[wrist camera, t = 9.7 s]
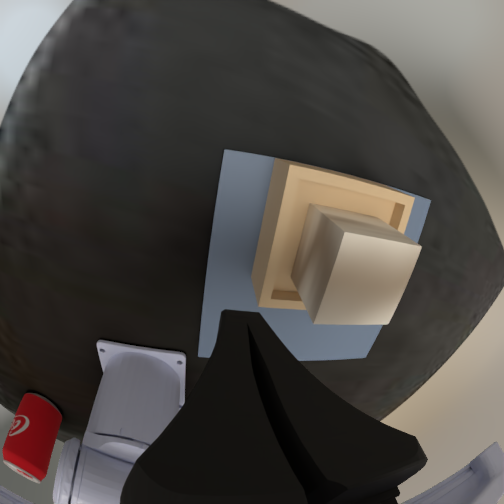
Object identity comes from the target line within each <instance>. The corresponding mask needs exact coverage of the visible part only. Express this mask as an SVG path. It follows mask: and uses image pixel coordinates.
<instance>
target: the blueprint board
mask: <svg viewBox="0 0 504 504" xmlns="http://www.w3.org/2000/svg"><path fill="white" fill-rule="evenodd" d="M430 202H431V200H429V199H427V198H424V197H421V196H418V195H415V194H412V193H409V192H406V191H403V190H400V189H397V188H394V187H391V186H388V185H384V184H381V183H378V182H374V181H371V180H368V179H364V178H360V177H357V176H353V175H349V174H346V173H342V172H338V171H334V170H330V169H326V168H322V167H318V166H313V165H309V164H304V163H300V162H295V161H290V160H286V159H281V158H275V157H270V156H265V155H259V154H253V153H248V152H241V151H235V150H228V149H224V154H223V160H222V166H221V172H220V179H219V185H218V191H217V198H216V204H215V211H214V218H213V225H212V232H211V240H210V247H209V255H208V263H207V271H206V280H205V288H204V297H203V307H202V316H201V326H200V337H199V348H198V357H208V358H210V356H211V354H212V351H213V349H214V346H215V343H216V339H217V333H218V327H219V321H220V316H221V311H223V310H224V309H229V310H239V311H250V312H259V313H260V314H261V315H262V316H263V318H264V319H265V320H266V322H267V323H268V324H269V326H270V327H271V328H272V330H273V331H274V332H275V334H276V335H277V336H278V337H279V339H280V340H281V341H282V342H283V344H284V345H285V346H286V347H287V348H288V350H289V351H290V352H291V353H292V354H293V355H294V356H295V358H296V359H297V360H298V361H311V360H337V359H354V358H365V357H366V356H367V354H368V352H369V350H370V348H371V346H372V345H373V343H374V341H375V339H376V337H377V335H378V333H379V331H380V329H381V327H382V325H328V324H313V322H312V320H311V318H310V316H309V314H308V312H307V310H306V308H305V306H304V304H303V302H302V299H301V297H300V295H299V293H298V291H297V289H296V287H295V285H294V283H293V281H292V279H291V277H290V276H291V272H292V269H293V265H294V261H295V258H296V254H297V250H298V246H299V243H300V239H301V235H302V231H303V227H304V223H305V219H306V215H307V211H308V207H309V203H313V204H318V205H323V206H328V207H333V208H338V209H343V210H347V211H352V212H357V213H361V214H366V215H370V216H374V217H377V218H379V219H381V220H382V221H384V222H385V223H387V224H389V225H390V226H392V227H393V228H395V229H396V230H398V231H399V232H401V233H402V234H404V235H405V236H407V237H408V238H410V239H411V240H413V241H414V242H416V243H418V240H419V237H420V234H421V231H422V228H423V225H424V222H425V219H426V215H427V212H428V209H429V205H430Z"/></svg>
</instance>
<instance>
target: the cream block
mask: <svg viewBox="0 0 504 504" xmlns="http://www.w3.org/2000/svg"><path fill="white" fill-rule="evenodd" d="M421 248H422V246H420V245H419V244H417V243H416V242H414V241H413V240H411V239H410V238H408V237H407V236H405V235H404V234H402V233H401V232H399V231H398V230H396V229H395V228H393V227H392V226H390V225H389V224H387V223H385V222H384V221H382V220H381V219H379V218H377V217H374V216H370V215H366V214H361V213H357V212H352V211H347V210H343V209H338V208H333V207H328V206H323V205H318V204H313V203H309V207H308V211H307V215H306V219H305V223H304V227H303V231H302V235H301V239H300V243H299V246H298V250H297V254H296V258H295V261H294V265H293V269H292V272H291V276H290V277H291V279H292V281H293V283H294V285H295V287H296V289H297V291H298V293H299V295H300V297H301V299H302V302H303V304H304V306H305V308H306V310H307V312H308V314H309V316H310V318H311V320H312V322H313V324H328V325H384V324H389V322H390V320H391V318H392V316H393V314H394V312H395V309H396V307H397V305H398V303H399V301H400V299H401V297H402V294H403V292H404V290H405V288H406V285H407V283H408V281H409V278H410V276H411V273H412V271H413V269H414V266H415V264H416V261H417V258H418V256H419V253H420V250H421Z"/></svg>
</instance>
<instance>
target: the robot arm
mask: <svg viewBox="0 0 504 504" xmlns="http://www.w3.org/2000/svg"><path fill="white" fill-rule="evenodd" d="M97 349H98V354H99V358H100V362H101V366H102V369H103V376H102V379H101V382H100V386H99V389H98V392H97V395H96V398H95V402H94V405H93V408H92V412H91V415H90V419H89V423H88V426H87V430H86V431H85V435H84V438H83V441H82V445H81V444H80V440H79V439H77V438H72V440H67V441H65V443H64V446H63V449H62V452H61V456H60V460H59V464H58V468H57V473H56V478H55V484H54V491H53V501H54V504H398V503H397V500H396V498H395V497H397V496H399V494H400V492H399V489H398V487H397V486H398V485H400V484H401V483H403V482H404V481H406V480H407V479H408V478H410V477H411V476H413V475H414V474H416V473H417V472H418V471H419V470H421V469H422V468H423V467H424V466H425V464H426V462H427V460H428V459H427V457H426V455H425V453H424V451H423V450H422V448H421V446H420V444H419V442H418V440H417V439H416V437H415V436H412V435H410V434H407V433H405V432H402V431H400V430H397V429H395V428H392V427H390V426H388V425H386V424H384V423H382V422H380V421H378V420H376V419H374V418H372V417H370V416H368V415H367V414H365V413H363V412H361V411H360V410H358V409H356V408H355V407H353V406H352V405H350V404H349V403H347V402H346V401H345V400H343V399H342V398H340V397H339V396H337V395H336V394H335V393H333V392H332V391H331V390H330V389H328V388H327V387H326V386H325V385H324V384H322V383H321V382H320V381H319V380H318V379H317V378H315V377H314V376H313V375H312V374H311V373H310V372H309V371H308V370H307V369H306V368H305V367H304V366H303V365H302V364H301V363H300V362H299V361H298V360H297V359H296V358H295V356H294V355H293V354H292V353H291V352H290V351H289V350H288V348H287V347H286V346H285V345H284V344H283V342H282V341H281V340H280V339H279V337H278V336H277V335H276V334H275V332H274V331H273V330H272V328H271V327H270V326H269V324H268V323H267V322H266V320H265V319H264V318H263V316H262V315H261V314H260V313H259V312H250V311H239V310H229V309H224V310H223V311H221V316H220V321H219V327H218V333H217V339H216V343H215V346H214V349H213V351H212V354H211V356H210V358H209V360H208V363H207V365H206V367H205V369H204V371H203V373H202V375H201V377H200V379H199V380H198V382H197V384H196V386H195V387H194V389H193V391H192V392H191V394H190V395H189V397H188V398H187V400H186V402H185V370H186V355H185V354H184V353H183V352H177V351H168V350H160V349H153V348H146V347H139V346H133V345H127V344H121V343H116V342H110V341H105V340H98V342H97ZM103 349H104V350H103ZM180 361H181V362H180ZM503 494H504V453H503V451H502V449H501V448H500V446H499V445H498V443H497V442H494V443H493V444H492V445H491V446H489V447H488V448H487V449H486V450H484V451H483V452H482V453H481V454H479V455H478V456H477V457H476V458H475V459H473V460H472V461H471V462H470V463H469V464H468V465H466V466H465V467H464V468H462V469H461V470H460V471H458V472H456V473H455V474H453V475H452V476H450V477H449V478H447V479H445V480H444V481H442V482H440V483H439V484H437V485H436V486H434V487H432V488H430V489H429V490H427V491H425V492H423V493H421V494H419V495H417V496H415V497H414V498H411V499H410V500H407V501H405V502H403V503H401V504H497V502H498V501H499V499H500V498H501V497H502V495H503ZM0 504H34V503H32V502H30V501H28V500H26V499H24V498H22V497H20V496H18V495H17V494H15V493H13V492H11V491H9V490H8V489H6V488H4V487H3V486H1V485H0Z"/></svg>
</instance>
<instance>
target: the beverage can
mask: <svg viewBox="0 0 504 504" xmlns="http://www.w3.org/2000/svg"><path fill="white" fill-rule="evenodd" d="M61 421H62V415H61V413H60V412H59V410H58V408H57V407H56V406H55V405H54V404H53V403H52V402H51V401H49V400H48V399H47V398H45V397H43V396H41V395H39V394H36V393H26V394H24V396H23V399H22V401H21V403H20V405H19V408H18V410H17V412H16V415H15V417H14V420H13V422H12V425H11V427H10V430H9V433H8V435H7V438H6V441H5V444H4V447H3V457H4V460H3V462H4V463H5V464H6V465H7V466H8V467H10V468H11V469H12V470H14V471H15V472H17V473H19V474H20V475H22V476H24V477H26V478H28V479H29V480H32V481H34V482H36V483H40V482H41V480H42V479H43V478H45V476H46V474H47V470H48V466H49V462H50V458H51V454H52V451H53V447H54V444H55V440H56V437H57V433H58V430H59V427H60V424H61Z"/></svg>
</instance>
